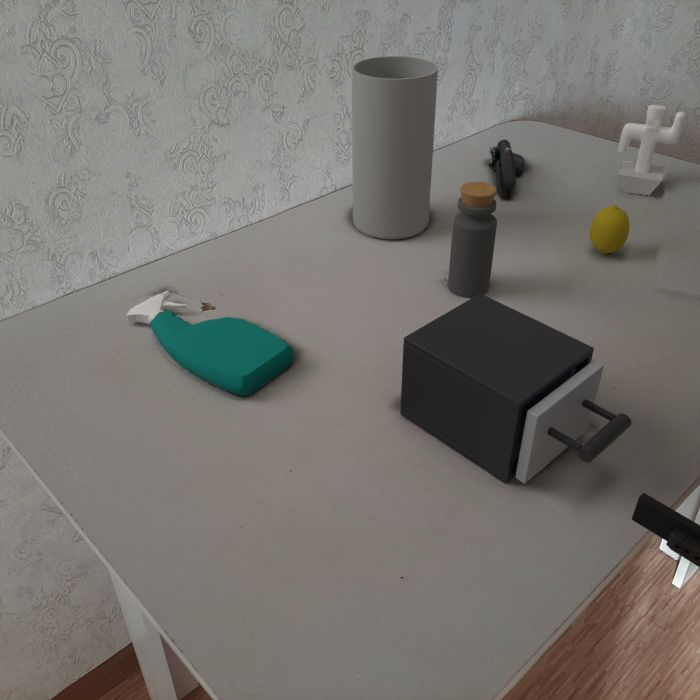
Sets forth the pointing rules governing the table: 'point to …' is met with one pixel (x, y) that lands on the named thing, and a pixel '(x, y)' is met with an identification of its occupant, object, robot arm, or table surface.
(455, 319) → the drawer cabinet
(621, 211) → the lemon
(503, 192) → the can opener
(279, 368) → the spray bottle
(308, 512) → the table surface
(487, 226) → the bottle
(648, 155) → the figurine
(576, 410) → the compartment
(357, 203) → the cylinder vase
